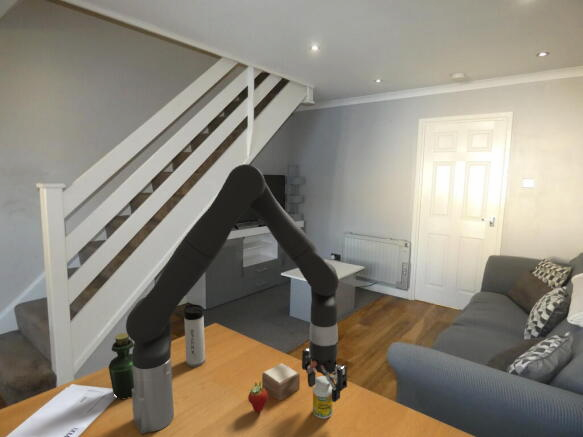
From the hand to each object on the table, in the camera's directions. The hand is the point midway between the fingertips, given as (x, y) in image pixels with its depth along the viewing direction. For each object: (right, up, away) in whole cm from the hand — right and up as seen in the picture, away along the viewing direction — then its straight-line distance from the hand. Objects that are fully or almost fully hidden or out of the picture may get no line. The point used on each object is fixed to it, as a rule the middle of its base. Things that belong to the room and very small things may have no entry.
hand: (323, 392), depth 94 cm
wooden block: (-12, -4, +10) cm, 16 cm away
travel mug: (-42, -2, +24) cm, 49 cm away
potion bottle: (-58, -4, +8) cm, 59 cm away
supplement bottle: (0, -6, 0) cm, 6 cm away
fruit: (-18, -6, +1) cm, 19 cm away
